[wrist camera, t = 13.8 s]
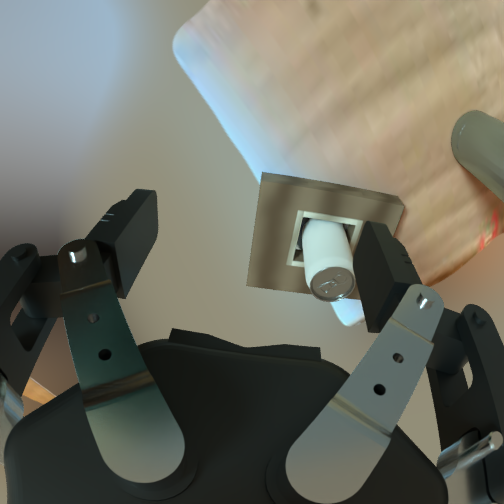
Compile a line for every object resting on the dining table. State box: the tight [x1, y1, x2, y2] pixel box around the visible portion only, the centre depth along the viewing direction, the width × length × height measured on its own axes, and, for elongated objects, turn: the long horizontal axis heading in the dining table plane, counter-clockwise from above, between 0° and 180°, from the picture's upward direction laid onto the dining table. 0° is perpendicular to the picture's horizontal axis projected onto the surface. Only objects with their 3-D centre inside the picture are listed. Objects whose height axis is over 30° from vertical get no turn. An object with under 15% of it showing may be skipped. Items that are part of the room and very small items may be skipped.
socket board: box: [246, 172, 404, 300], centre depth 46 cm, size 20×18×3 cm
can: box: [302, 218, 355, 302], centre depth 42 cm, size 6×6×12 cm
